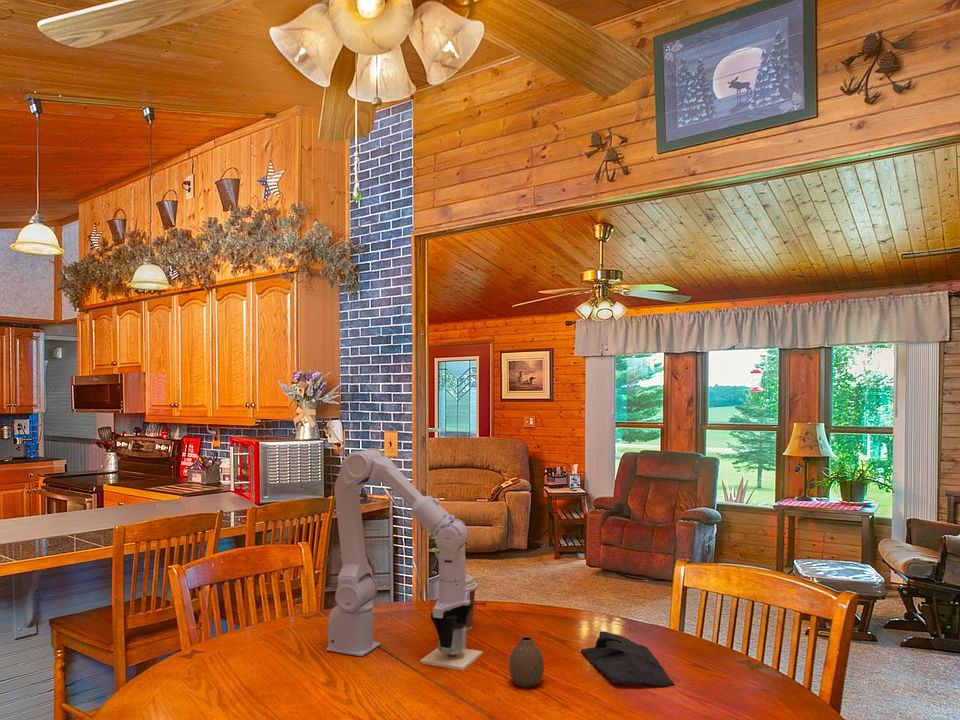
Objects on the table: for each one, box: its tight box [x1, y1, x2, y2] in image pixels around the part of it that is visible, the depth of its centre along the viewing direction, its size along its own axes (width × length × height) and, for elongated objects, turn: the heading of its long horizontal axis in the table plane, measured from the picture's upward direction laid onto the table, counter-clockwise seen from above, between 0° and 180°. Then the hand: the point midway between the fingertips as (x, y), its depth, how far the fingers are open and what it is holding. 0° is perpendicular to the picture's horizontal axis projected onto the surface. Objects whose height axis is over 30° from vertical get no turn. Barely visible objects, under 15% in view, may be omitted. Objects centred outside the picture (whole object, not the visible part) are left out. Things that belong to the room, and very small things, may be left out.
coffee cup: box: [465, 573, 479, 632], centre depth 177 cm, size 9×9×12 cm
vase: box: [508, 635, 545, 688], centre depth 143 cm, size 7×7×9 cm
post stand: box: [419, 647, 483, 671], centre depth 156 cm, size 10×10×6 cm
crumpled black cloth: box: [580, 630, 675, 688], centre depth 152 cm, size 15×22×5 cm
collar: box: [437, 622, 467, 654], centre depth 156 cm, size 6×6×5 cm
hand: (451, 642), depth 156 cm, fingers closed on collar, 5 cm apart
